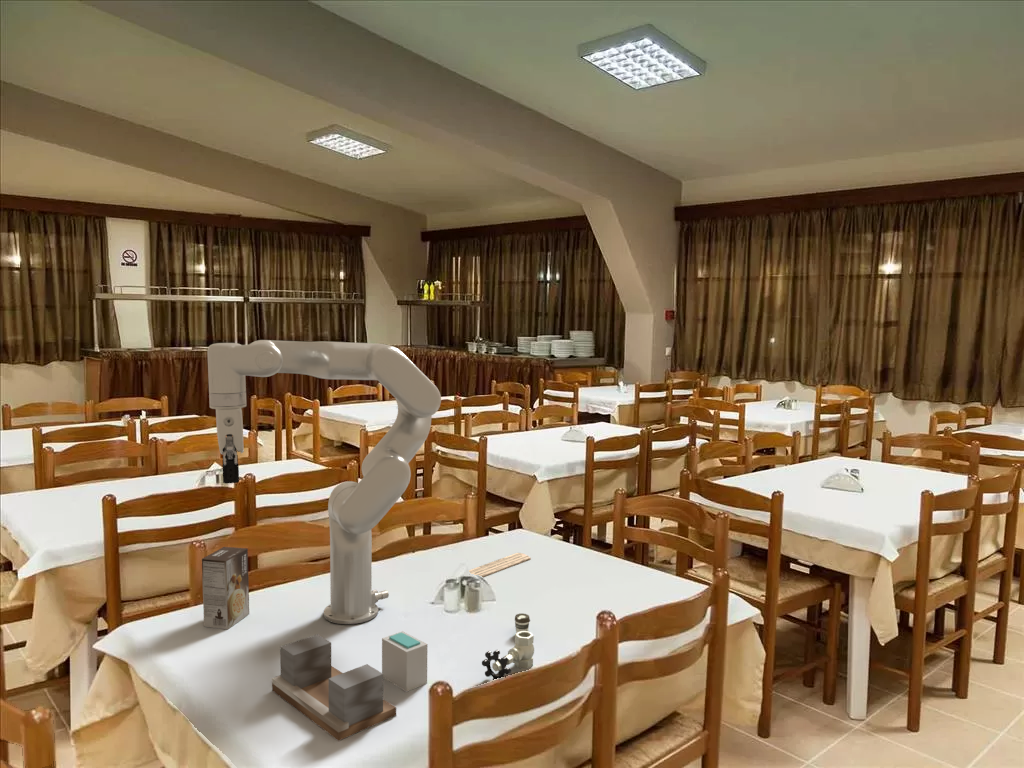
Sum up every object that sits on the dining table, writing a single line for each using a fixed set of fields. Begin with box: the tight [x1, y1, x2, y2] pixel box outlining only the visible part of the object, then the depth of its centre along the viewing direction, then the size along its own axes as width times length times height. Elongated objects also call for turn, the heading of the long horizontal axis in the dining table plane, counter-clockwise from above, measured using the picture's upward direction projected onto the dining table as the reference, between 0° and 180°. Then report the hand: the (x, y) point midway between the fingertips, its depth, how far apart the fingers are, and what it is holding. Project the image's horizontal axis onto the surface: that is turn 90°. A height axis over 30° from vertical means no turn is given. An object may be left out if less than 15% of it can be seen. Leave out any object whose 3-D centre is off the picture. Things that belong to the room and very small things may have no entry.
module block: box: [381, 630, 428, 693], centre depth 153 cm, size 5×8×8 cm, turn 45°
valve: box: [481, 630, 535, 680], centre depth 157 cm, size 7×7×12 cm
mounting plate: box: [271, 633, 397, 742], centre depth 144 cm, size 12×23×8 cm, turn 45°
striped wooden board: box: [469, 552, 532, 578], centre depth 219 cm, size 24×7×2 cm, turn 139°
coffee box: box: [201, 546, 250, 630], centre depth 178 cm, size 9×6×16 cm
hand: (230, 477), depth 170 cm, fingers open, 9 cm apart
